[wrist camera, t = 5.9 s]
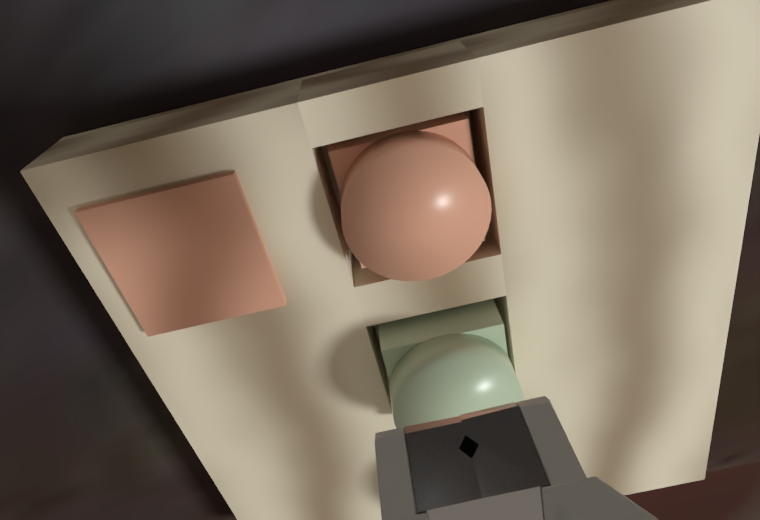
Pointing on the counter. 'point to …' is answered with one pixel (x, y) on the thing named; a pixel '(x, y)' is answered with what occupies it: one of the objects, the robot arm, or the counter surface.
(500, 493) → the robot arm
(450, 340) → the sage button
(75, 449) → the counter surface
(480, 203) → the terracotta button
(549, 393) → the button panel
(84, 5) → the counter surface
